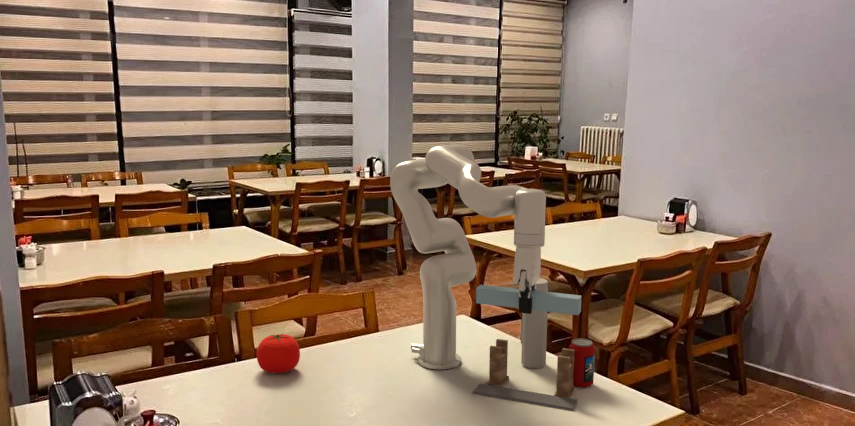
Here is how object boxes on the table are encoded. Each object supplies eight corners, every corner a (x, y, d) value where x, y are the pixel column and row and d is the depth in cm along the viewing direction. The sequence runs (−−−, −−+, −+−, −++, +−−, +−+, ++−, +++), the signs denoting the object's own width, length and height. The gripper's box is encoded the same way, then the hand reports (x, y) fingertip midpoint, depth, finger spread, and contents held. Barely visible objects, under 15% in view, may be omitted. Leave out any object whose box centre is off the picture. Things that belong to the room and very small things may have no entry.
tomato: (297, 361, 200) (296, 326, 199) (303, 376, 189) (302, 339, 188) (255, 366, 197) (254, 330, 195) (258, 381, 186) (257, 344, 184)
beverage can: (593, 390, 181) (595, 347, 179) (567, 388, 182) (569, 345, 180) (592, 380, 187) (594, 338, 185) (567, 378, 189) (569, 336, 187)
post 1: (486, 386, 183) (487, 346, 181) (494, 376, 190) (495, 338, 188) (501, 388, 182) (502, 348, 180) (508, 378, 188) (509, 340, 187)
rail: (476, 303, 176) (476, 287, 175) (480, 299, 179) (480, 284, 179) (578, 315, 166) (579, 299, 166) (580, 311, 170) (581, 295, 169)
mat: (472, 393, 179) (472, 391, 179) (479, 385, 184) (479, 383, 184) (573, 410, 169) (573, 408, 169) (577, 401, 174) (577, 399, 174)
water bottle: (552, 366, 197) (555, 281, 193) (532, 372, 193) (534, 285, 189) (530, 356, 205) (532, 274, 201) (510, 361, 200) (512, 278, 196)
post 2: (554, 397, 176) (555, 356, 175) (559, 387, 183) (561, 347, 181) (569, 400, 175) (571, 359, 173) (574, 389, 181) (576, 349, 180)
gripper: (522, 232, 179) (521, 300, 182) (505, 244, 164) (503, 318, 167) (551, 234, 176) (549, 303, 179) (536, 246, 161) (534, 322, 164)
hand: (527, 309), depth 173 cm, fingers closed on rail, 3 cm apart
